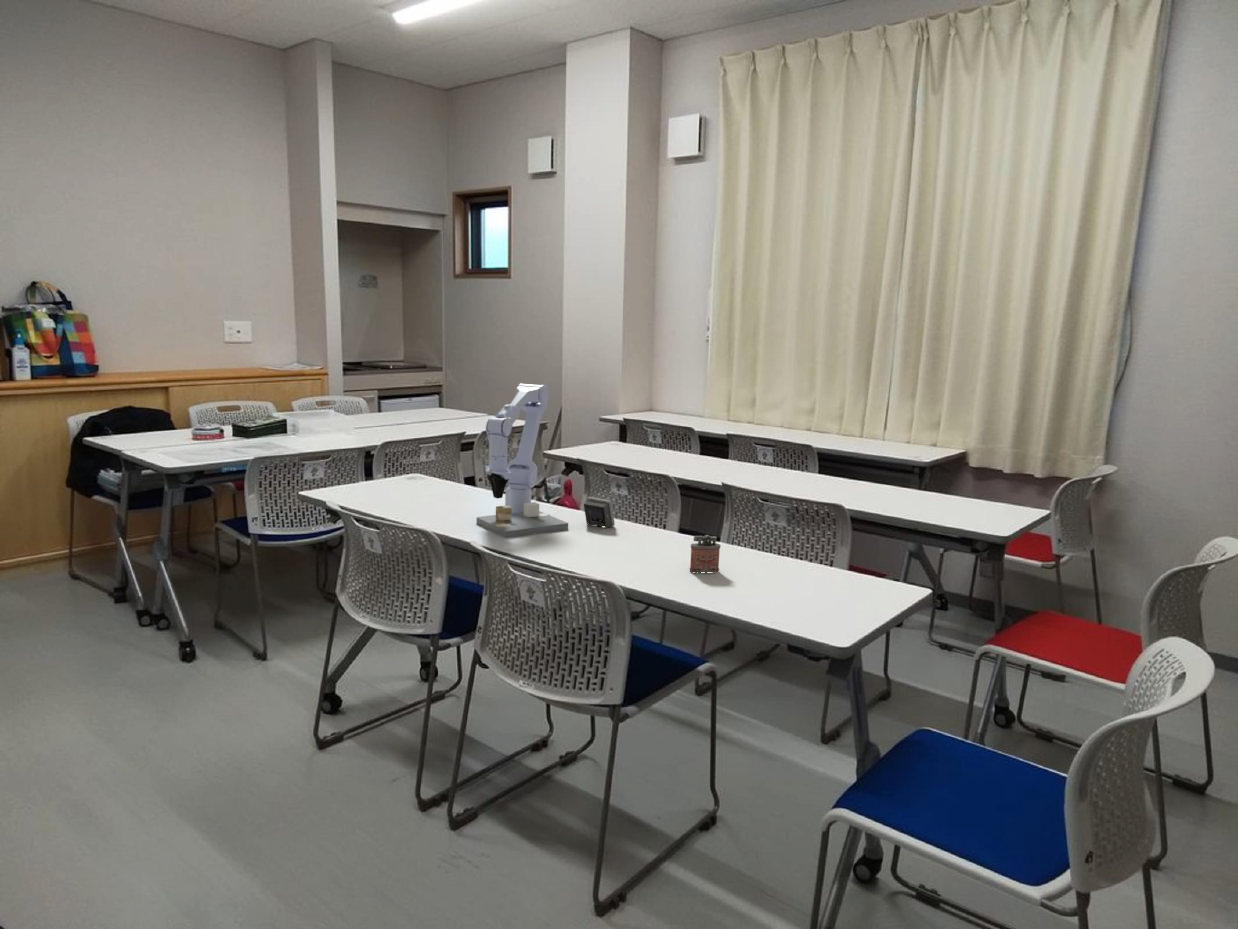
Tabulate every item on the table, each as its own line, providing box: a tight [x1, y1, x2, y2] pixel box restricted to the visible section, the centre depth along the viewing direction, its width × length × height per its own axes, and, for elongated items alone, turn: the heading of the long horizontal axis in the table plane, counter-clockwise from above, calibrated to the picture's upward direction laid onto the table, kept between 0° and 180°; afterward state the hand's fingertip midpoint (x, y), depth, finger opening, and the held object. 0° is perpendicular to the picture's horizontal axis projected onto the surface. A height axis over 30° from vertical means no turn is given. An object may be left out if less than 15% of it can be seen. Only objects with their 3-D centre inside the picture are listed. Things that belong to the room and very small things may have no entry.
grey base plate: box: [476, 510, 569, 539], centre depth 262 cm, size 20×22×2 cm
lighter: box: [689, 534, 721, 574], centre depth 221 cm, size 8×3×10 cm, turn 100°
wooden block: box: [495, 504, 512, 521], centre depth 261 cm, size 3×4×4 cm
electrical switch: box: [583, 496, 615, 529], centre depth 265 cm, size 9×5×9 cm, turn 57°
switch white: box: [524, 501, 540, 517], centre depth 267 cm, size 3×4×4 cm
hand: (498, 497), depth 264 cm, fingers closed
